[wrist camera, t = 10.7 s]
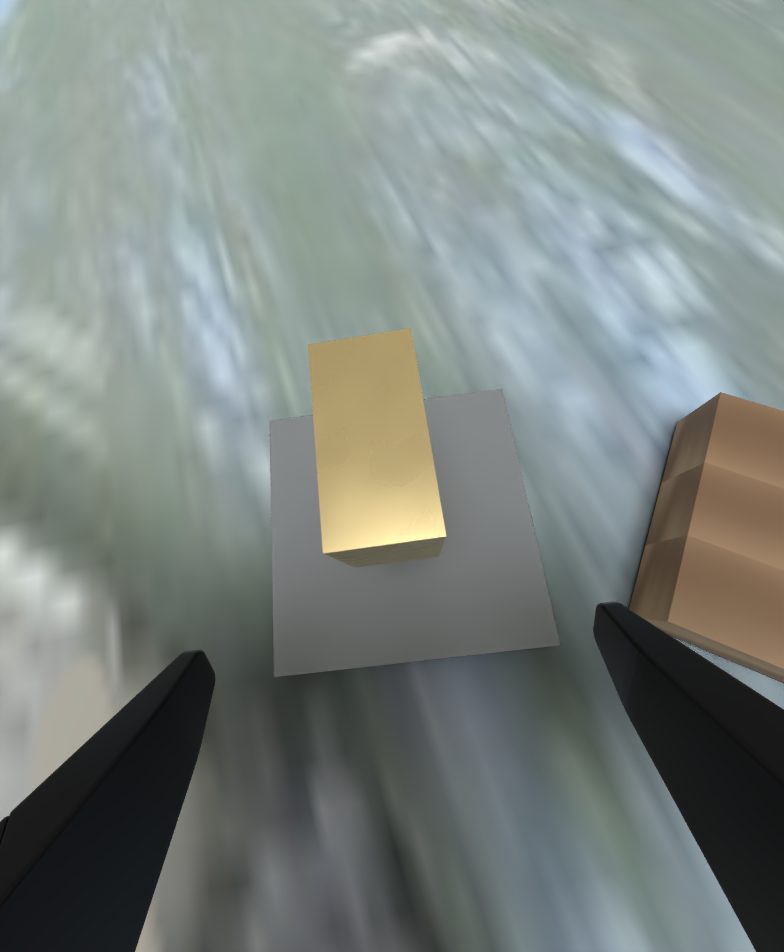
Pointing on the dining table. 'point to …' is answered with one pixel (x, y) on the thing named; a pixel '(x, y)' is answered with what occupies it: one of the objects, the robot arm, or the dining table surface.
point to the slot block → (720, 536)
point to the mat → (417, 581)
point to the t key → (373, 452)
